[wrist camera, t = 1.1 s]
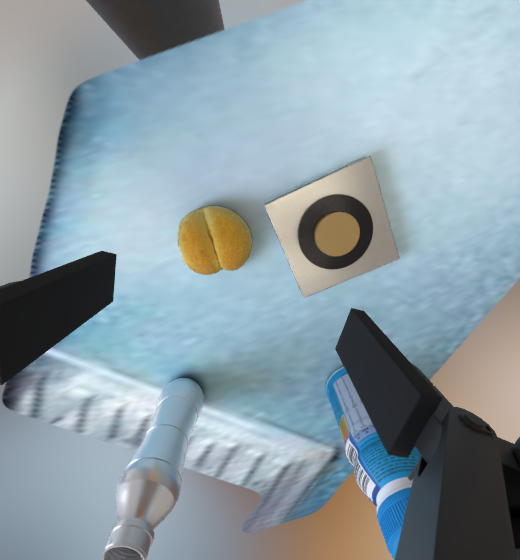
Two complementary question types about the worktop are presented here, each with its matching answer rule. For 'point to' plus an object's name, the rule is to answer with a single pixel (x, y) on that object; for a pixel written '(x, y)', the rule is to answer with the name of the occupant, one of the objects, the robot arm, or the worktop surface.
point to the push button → (334, 227)
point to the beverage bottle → (372, 458)
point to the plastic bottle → (154, 472)
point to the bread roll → (213, 240)
